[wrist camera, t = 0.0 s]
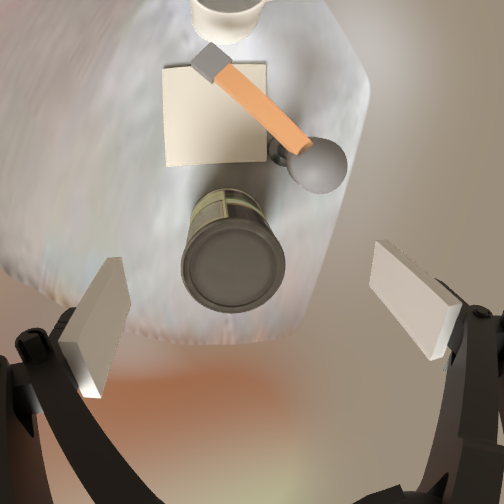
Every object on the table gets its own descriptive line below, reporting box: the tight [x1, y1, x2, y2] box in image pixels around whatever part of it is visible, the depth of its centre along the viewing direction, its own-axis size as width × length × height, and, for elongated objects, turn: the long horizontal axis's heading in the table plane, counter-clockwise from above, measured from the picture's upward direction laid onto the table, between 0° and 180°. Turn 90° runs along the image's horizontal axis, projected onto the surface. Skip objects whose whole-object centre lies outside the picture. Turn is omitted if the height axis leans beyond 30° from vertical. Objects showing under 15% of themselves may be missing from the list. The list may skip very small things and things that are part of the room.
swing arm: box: [190, 42, 347, 194], centre depth 26 cm, size 17×5×4 cm, turn 46°
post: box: [268, 137, 289, 167], centre depth 36 cm, size 4×4×12 cm
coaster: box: [162, 64, 267, 167], centre depth 38 cm, size 13×13×1 cm
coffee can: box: [181, 188, 285, 314], centre depth 38 cm, size 10×10×14 cm
